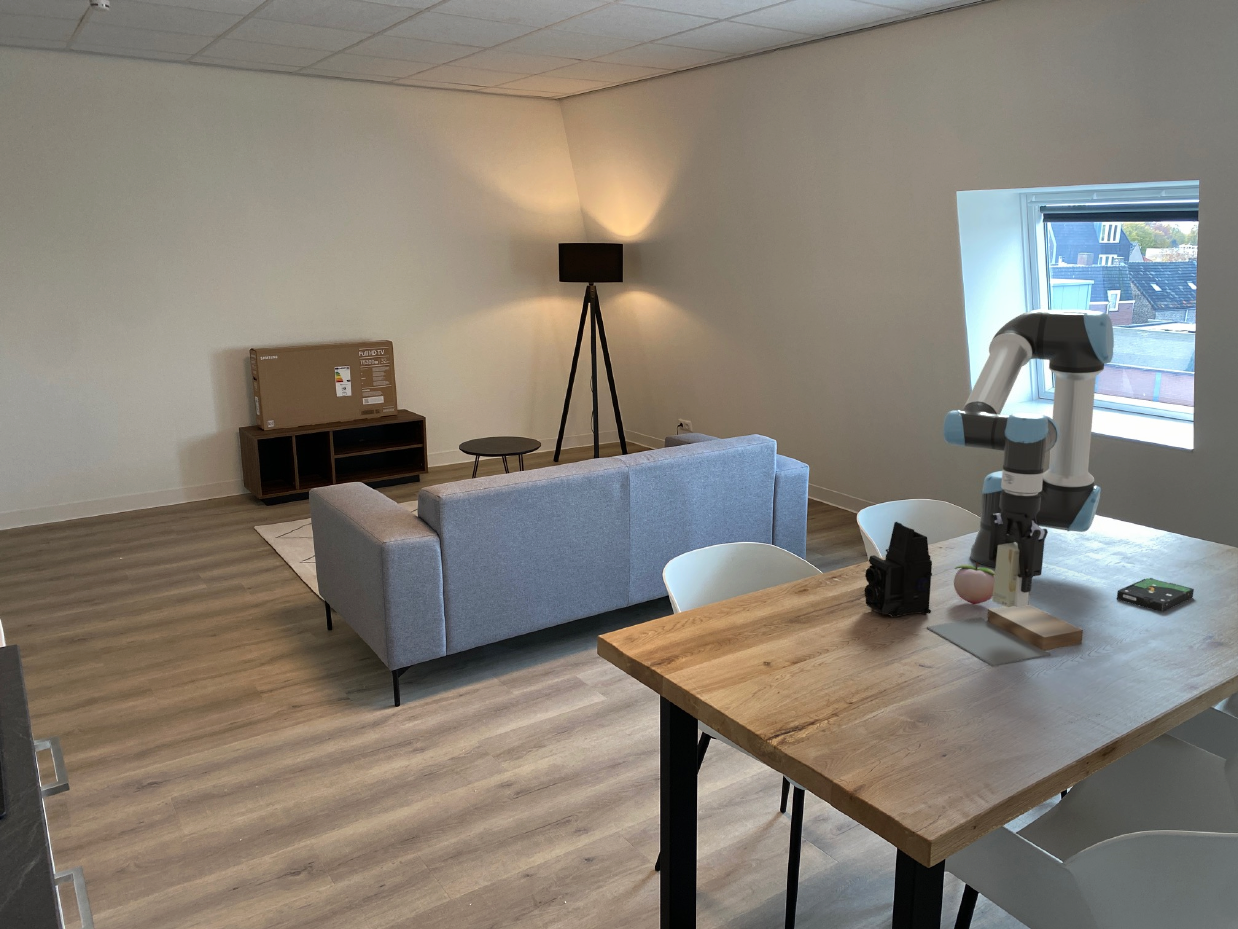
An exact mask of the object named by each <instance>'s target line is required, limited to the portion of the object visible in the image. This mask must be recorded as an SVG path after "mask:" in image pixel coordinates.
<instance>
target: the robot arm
mask: <svg viewBox="0 0 1238 929" xmlns="http://www.w3.org/2000/svg"><path fill="white" fill-rule="evenodd" d="M1114 345H1115V344H1114V329H1113V321H1112V319H1111V316H1110V315H1109V314H1107V313H1106V312H1103V311H1094V310H1088V309H1087V310H1085V309H1083V310H1082V309H1062V310H1061V309H1034V310H1030V311H1026V312H1024V313H1022V314H1019V315H1017V316H1016V317H1013V318H1012V319H1010V320H1009V321H1008V322H1006V323H1005V324H1004V325H1003V326H1002V327H1001V328H1000V329H999V330H997V332H996V333H995V334H994V336H993V338H992V340H991V341H990V343H989V345H988V353H989V356H988V357H987V360H986V362H985V364H984V366H983V367H982V369H981V372H980V374H979V375H978V378H977V380H976V382H975V383H974V385H973V388H972V390H971V392H970V393H969V394H970V395H969V396H968V398H967V400H966V402H965V403H964V405H963V408H962V410H960V409H958V410H950V411H948V412H947V413H946V415H945V417H944V421H943V426H942V433H943V434H942V435H943V440H944V442H946V443H947V444H948V445H953V446H957V447H958V446H960V447H962V448H965V447H966V448H973V449H974V448H975V449H976V448H977V449H986V450H996V451H1003V460H1002V461H1003V463H1002V470H999V471H994V472H991V473H989V474H987V475H986V476H985V477H984V480H983V486H982V490H981V498H982V499H981V507H980V508H981V509H980V510H981V511H980V521H979V522H980V524H979V530H978V532H977V534H976V537H975V540H974V543H973V544H972V546H971V547H970V558H971V560H973V561H974V562H976V563H978V564H980V565H984V566H987V567H993V568H996V559H997V549H998V545H1002V544H1007V543H1014V542H1016V543H1017V544H1018V549H1019V550H1020V552H1019V566H1020V574H1017V579H1016V590H1015V601H1014V606H1015V607H1022V606H1027V605H1028V604H1029V603H1028V594H1029V592H1030V593H1031V591H1032V582H1033V578H1034V577H1039V576H1041V575H1042V570H1043V563H1044V562H1043V560H1044V552H1045V551H1044V550H1045V542H1046V541H1045V540H1046V537H1047V536H1048V532H1049V531H1048V529H1049V528H1050V529H1053V530H1054V529H1056V530H1062V531H1066V532H1079V533H1084V532H1087V531H1089V529H1090V528H1091V526H1092V524H1093V521H1094V518H1095V515H1096V512H1097V509H1098V505H1099V502H1100V498H1101V491H1102V489H1101V486H1099V485H1095V478H1094V476H1093V475H1092V474H1091V473H1090V472H1089V466H1090V465H1089V464H1090V463H1089V461H1090V450H1091V440H1092V426H1093V425H1092V424H1093V415H1094V414H1093V413H1094V405H1095V404H1094V403H1095V393H1096V392H1095V391H1096V390H1095V389H1096V378H1097V376H1098V375H1099V374H1101V373H1102V372H1103V371H1105V365H1107V364H1109V363H1111V362H1112V360H1113V357H1114V356H1113V355H1114ZM1030 360H1043V361H1044V360H1045V361H1046V360H1048V362H1049V363H1048V369H1049V370H1050V371H1051V372H1052V374H1053V375H1054V392H1053V394H1054V395H1053V406H1052V407H1053V408H1052V418H1051V417H1050V416H1047V415H1045V414H1039V413H1032V412H1031V413H1030V412H1018V413H1011V414H1010V415H1009V414H1001V413H1002V411H1003V409H1004V407H1005V405H1006V402H1007V400H1008V398H1009V395H1010V393H1011V391H1012V389H1013V387H1014V385H1015V382H1016V381H1017V378H1018V375H1020V372H1021V369H1022V368H1023V367H1024V366H1026V365H1028V363H1029V362H1030ZM1046 452H1050V453H1049V463H1048V464H1049V466H1048V469H1047V470H1046V471H1044V466H1045V458H1046ZM1041 527H1042V528H1041ZM1047 528H1048V529H1047ZM1027 569H1028V570H1027ZM1026 570H1027V571H1026Z"/></svg>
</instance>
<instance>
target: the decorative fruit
mask: <svg viewBox="0 0 1238 929" xmlns="http://www.w3.org/2000/svg"><path fill="white" fill-rule="evenodd" d="M978 564H979V563H978V562H976V563H975V566H973V565H970V564H960V565H958V566H955V568H954V570H957V569H959V570H957V572H956V573H955V575H954V578H953V587H954V590H955V592H956V594H957V595H958V597H959V598H960V599H962V600H963V601H966V602H967V603H970V604H971V605H979V604H983V603H984V602H987V601H989V600H990V599H991V598H993V588H994V578H995V570H992V569H991V568H988V567H978Z"/></svg>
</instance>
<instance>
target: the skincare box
mask: <svg viewBox="0 0 1238 929" xmlns="http://www.w3.org/2000/svg"><path fill="white" fill-rule="evenodd" d="M1019 552H1020V550H1019V549H1018V544H1017V543H1016V542H1014V543H1007V544H1002V545H998V549H997V559H996V567H995V570H994V572H995V578H994V588H993V596H992V597H991V598H992V602H994V603H997V604H999V605H1001V606H1003V607H1004V606H1006V607H1013V606H1014V601H1015V590H1016V579H1017V574H1020V566H1019ZM1027 570H1028V569H1027ZM1027 570H1026V571H1027ZM1030 593H1031V591H1030V592H1029V594H1028V604H1029V603H1030V595H1031V594H1030Z"/></svg>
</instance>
